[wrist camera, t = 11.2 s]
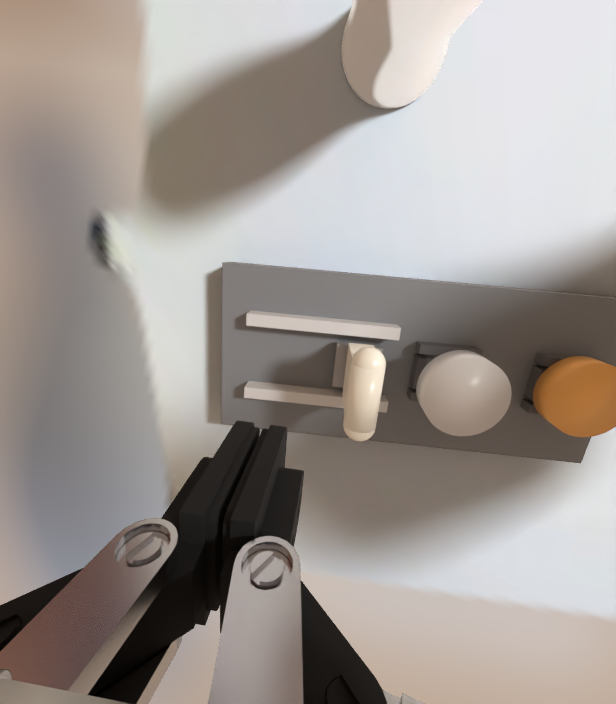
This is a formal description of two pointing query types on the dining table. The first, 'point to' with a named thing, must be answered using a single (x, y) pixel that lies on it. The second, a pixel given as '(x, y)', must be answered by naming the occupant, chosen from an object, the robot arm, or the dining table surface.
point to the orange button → (578, 396)
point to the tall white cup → (399, 46)
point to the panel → (398, 350)
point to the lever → (359, 386)
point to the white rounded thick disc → (463, 393)
